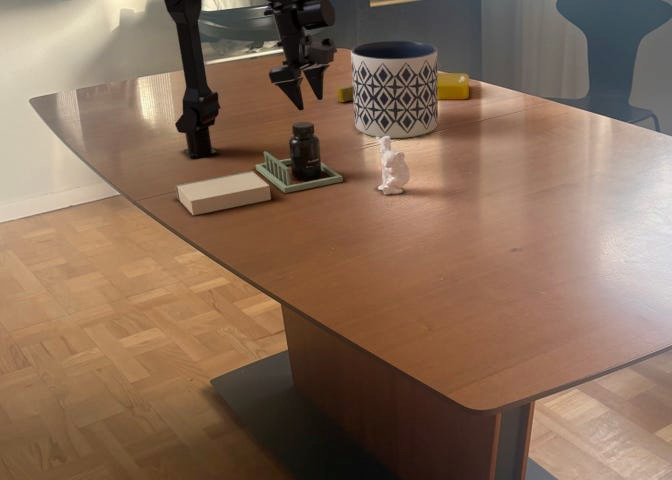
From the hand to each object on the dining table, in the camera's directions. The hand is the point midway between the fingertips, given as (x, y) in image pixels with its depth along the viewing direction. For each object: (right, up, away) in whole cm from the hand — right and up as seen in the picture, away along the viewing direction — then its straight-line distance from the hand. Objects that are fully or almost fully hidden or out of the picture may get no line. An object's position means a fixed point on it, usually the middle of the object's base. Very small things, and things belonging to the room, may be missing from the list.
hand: (311, 104), depth 189 cm
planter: (+17, +4, +36) cm, 40 cm away
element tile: (+30, +22, +66) cm, 76 cm away
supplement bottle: (-1, -16, +3) cm, 16 cm away
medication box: (+4, +19, +60) cm, 63 cm away
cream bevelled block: (-17, -23, -9) cm, 30 cm away
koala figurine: (+19, -21, -5) cm, 28 cm away
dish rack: (-3, -15, +4) cm, 16 cm away
